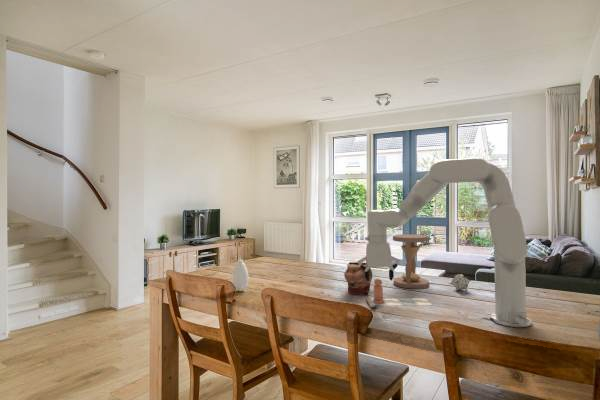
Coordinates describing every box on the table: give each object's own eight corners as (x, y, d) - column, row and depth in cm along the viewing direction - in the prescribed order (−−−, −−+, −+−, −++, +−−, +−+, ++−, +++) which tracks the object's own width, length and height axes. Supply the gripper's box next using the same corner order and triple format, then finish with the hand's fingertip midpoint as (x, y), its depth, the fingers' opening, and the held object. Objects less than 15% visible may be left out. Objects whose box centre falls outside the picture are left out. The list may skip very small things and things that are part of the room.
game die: (464, 299, 169) (474, 285, 163) (446, 292, 171) (455, 277, 165) (464, 285, 176) (473, 272, 170) (447, 279, 178) (455, 265, 172)
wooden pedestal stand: (402, 279, 195) (401, 233, 195) (434, 283, 184) (433, 235, 184) (387, 285, 182) (386, 236, 182) (421, 290, 171) (420, 238, 171)
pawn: (385, 303, 147) (384, 279, 147) (373, 303, 148) (373, 279, 148) (383, 300, 152) (382, 277, 152) (371, 300, 152) (371, 277, 152)
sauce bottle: (244, 293, 171) (243, 256, 171) (229, 292, 174) (228, 255, 174) (251, 289, 178) (250, 253, 178) (237, 288, 181) (236, 253, 181)
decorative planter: (356, 285, 183) (355, 258, 183) (379, 288, 176) (378, 260, 176) (339, 295, 166) (338, 265, 166) (363, 298, 159) (363, 267, 159)
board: (436, 308, 143) (436, 305, 143) (371, 309, 144) (371, 306, 144) (426, 300, 155) (426, 297, 155) (366, 300, 156) (366, 297, 156)
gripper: (358, 241, 146) (359, 283, 146) (400, 239, 146) (402, 281, 146) (355, 239, 154) (357, 279, 154) (396, 237, 153) (398, 277, 153)
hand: (379, 280), depth 150 cm, fingers open, 9 cm apart
